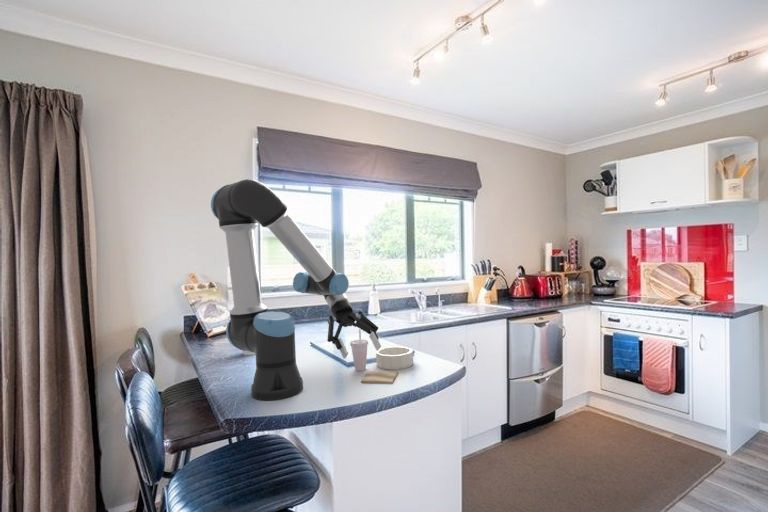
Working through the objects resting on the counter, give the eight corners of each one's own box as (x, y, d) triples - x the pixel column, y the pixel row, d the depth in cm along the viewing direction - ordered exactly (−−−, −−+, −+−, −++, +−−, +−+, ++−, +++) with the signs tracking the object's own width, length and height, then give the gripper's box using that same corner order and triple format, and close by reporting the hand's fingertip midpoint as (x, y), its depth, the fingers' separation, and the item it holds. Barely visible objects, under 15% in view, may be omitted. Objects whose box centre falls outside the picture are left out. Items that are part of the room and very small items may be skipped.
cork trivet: (392, 383, 117) (392, 381, 117) (361, 382, 119) (360, 380, 119) (398, 373, 127) (398, 371, 127) (369, 372, 129) (369, 370, 129)
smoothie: (361, 373, 129) (359, 331, 129) (347, 370, 133) (345, 330, 133) (373, 368, 134) (371, 328, 134) (359, 365, 138) (357, 327, 138)
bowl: (403, 371, 128) (403, 357, 128) (370, 367, 134) (369, 354, 134) (418, 360, 140) (417, 347, 140) (386, 358, 146) (386, 345, 146)
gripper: (363, 307, 153) (387, 351, 141) (306, 316, 139) (327, 366, 127) (370, 295, 149) (395, 339, 137) (311, 302, 134) (334, 352, 122)
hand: (363, 352), depth 132 cm, fingers open, 13 cm apart
